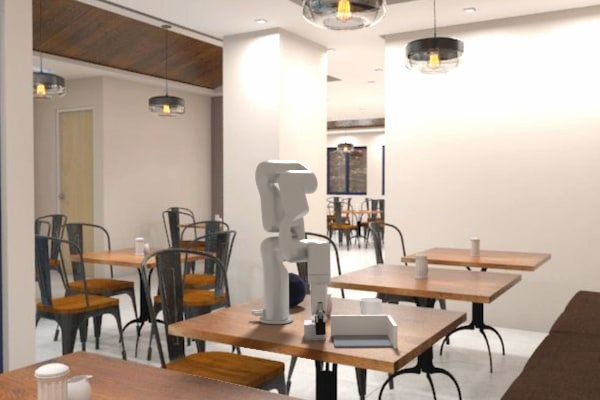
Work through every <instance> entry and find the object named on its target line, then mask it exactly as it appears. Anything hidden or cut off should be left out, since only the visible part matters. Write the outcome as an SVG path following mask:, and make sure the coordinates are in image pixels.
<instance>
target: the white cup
mask: <svg viewBox="0 0 600 400" xmlns="http://www.w3.org/2000/svg"><path fill="white" fill-rule="evenodd" d="M382 310H383V300H382V299H381V298H375V297H363V298H360V299H359V313H360V314H359V315H383V314H382V313H383V311H382Z"/></svg>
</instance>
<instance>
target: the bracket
mask: <svg viewBox="0 0 600 400" xmlns="http://www.w3.org/2000/svg"><path fill="white" fill-rule="evenodd" d="M326 334H327V333H326ZM326 334H325V335H316V325H315V322H312V319H304V320H303V340H304V341H326V340H327V339H326V338H327V335H326Z"/></svg>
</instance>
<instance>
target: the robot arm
mask: <svg viewBox="0 0 600 400" xmlns="http://www.w3.org/2000/svg"><path fill="white" fill-rule="evenodd" d="M254 176H255V183H256V187H257V190H258V191H257V192H258V193H259V198H260V213H261V222H262V227H263V230H264V231H265V232H266V233H270V234H273V233H275V234H276V233H277V234H278V235H276V236H269V237H266V238H264V239H263V240H262V241H261V243H260V247H259V250H260V255H261V262H262V272H263V273H262V275H263V277H262V279H263V282H262V283H263V287H262V288H263V308H261V309H259V310H257V309H252V310H251V316H255V317H258V316H260V317H259V322H261V323H262V324H266V325H284V324H289V323H292V322H293V321H294V316H292V315H290V307H289V274H288V273H289V271H288V269H287V267H286V266H285V265H284V263H283V262H287V263H289V264H294V263H295V264H296V263H307V284H308V285H310V307H311V309H310V310H311V316H314V323H315V325H316V335H325V334H327V333H326V331H327V327H326V326H327V323H326V319H325V317H326V315H327V310H328V285H330V284H332V280H331V279H332V277H331V276H332V275H331V274H332V273H331V271H332V270H331V245H330V242H328V241H325V240H319V239H313V238H310V239H309V238H308V239H306V232H305V220H304V217H305V216H306V215H308V214H309V211H310V207H309V203H308V199H307V195H310V194H314V193H315V192H316V191H317V189H318V185H319V184H318V183H319V182H318V179H317V176H316V174H315V172H313V170H311V169H310V168H309V167H308V166H306V165H305V164H303V163H302V162H300V161H297V160H284V159H282V160H279V159H269V160H264V161H260V162H259V163H258V164H257V166H256V169H255V174H254ZM276 184H278V186H277V185H276Z"/></svg>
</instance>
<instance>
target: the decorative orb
mask: <svg viewBox="0 0 600 400" xmlns="http://www.w3.org/2000/svg"><path fill="white" fill-rule="evenodd" d="M288 274H289V308H294V306H296V307H297V306H298V305H299V304H301V303H303V302H304V300H305V298H306V295H307V294H308V293H307V285H306V282H305V280H304V279H303V278H302V276H301V275H300V274H299V275H298V274H297V273H293V272H288Z"/></svg>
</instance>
